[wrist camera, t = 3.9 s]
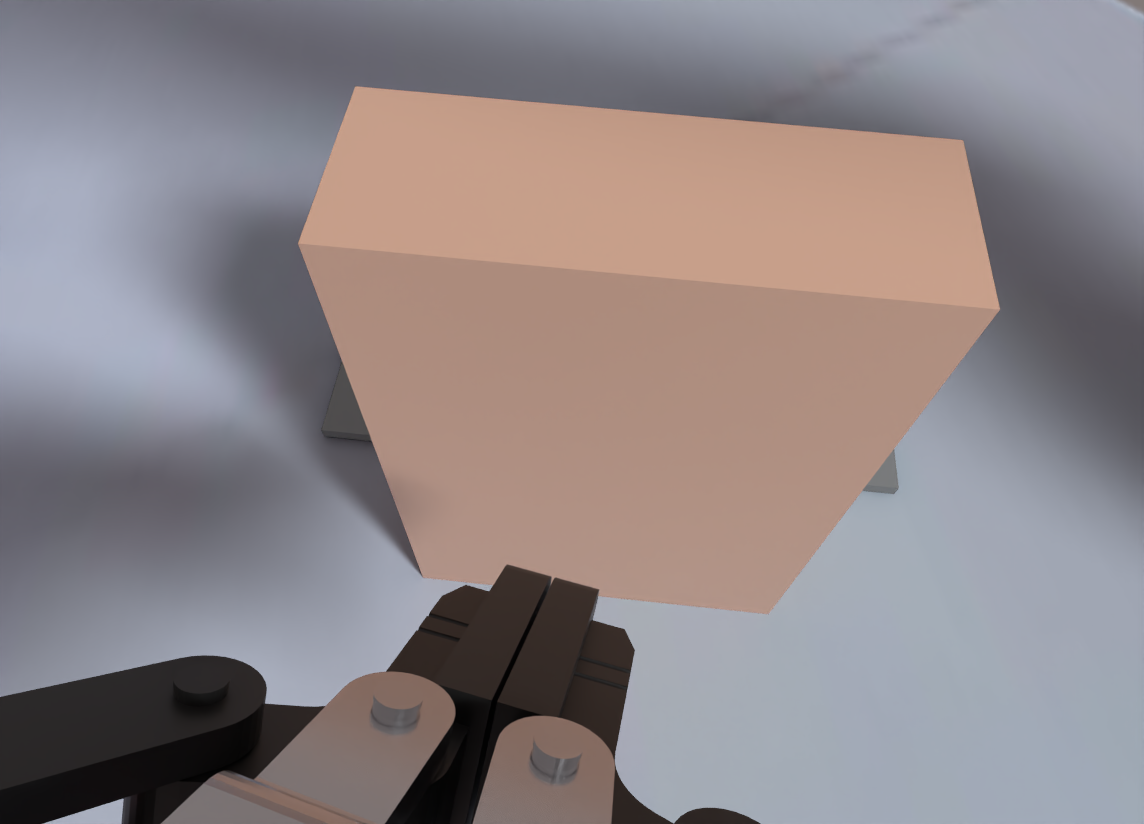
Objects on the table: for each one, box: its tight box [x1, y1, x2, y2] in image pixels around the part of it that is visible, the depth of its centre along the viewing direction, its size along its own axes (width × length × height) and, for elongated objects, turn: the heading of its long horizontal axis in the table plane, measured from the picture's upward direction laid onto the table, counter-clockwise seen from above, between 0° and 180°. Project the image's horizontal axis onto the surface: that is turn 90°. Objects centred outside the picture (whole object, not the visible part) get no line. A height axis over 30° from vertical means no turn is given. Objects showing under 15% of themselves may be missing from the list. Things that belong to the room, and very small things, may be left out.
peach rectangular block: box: [298, 86, 1000, 614], centre depth 19 cm, size 10×4×14 cm, turn 84°
